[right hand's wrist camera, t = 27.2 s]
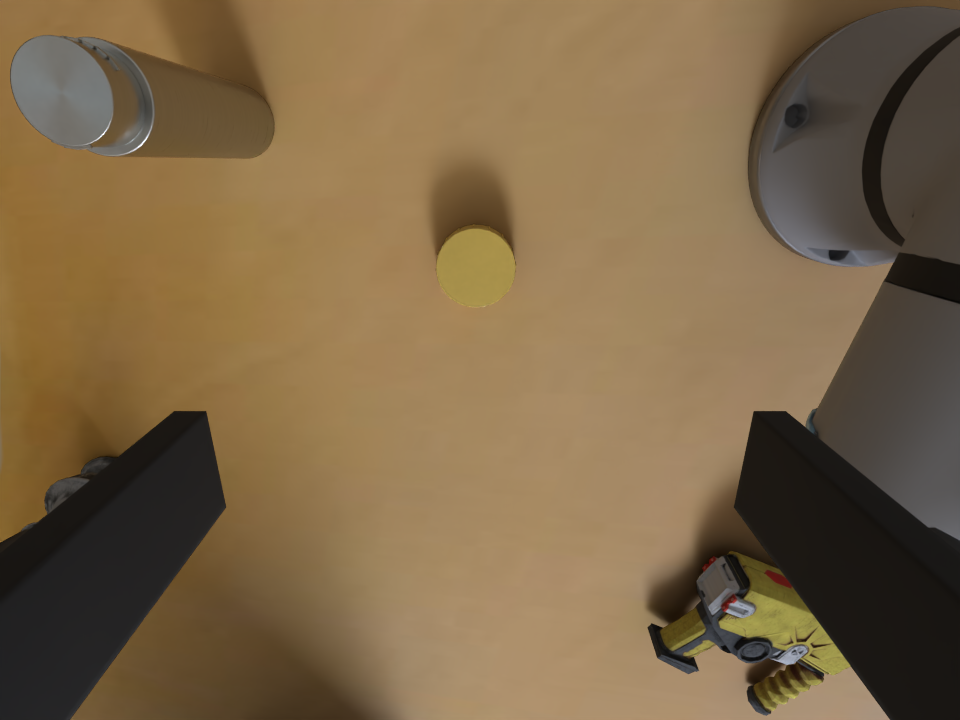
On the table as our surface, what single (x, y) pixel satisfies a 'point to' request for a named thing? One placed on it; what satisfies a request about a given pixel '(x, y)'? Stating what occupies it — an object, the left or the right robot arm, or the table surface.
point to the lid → (475, 266)
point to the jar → (134, 102)
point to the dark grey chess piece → (72, 484)
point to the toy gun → (752, 629)
